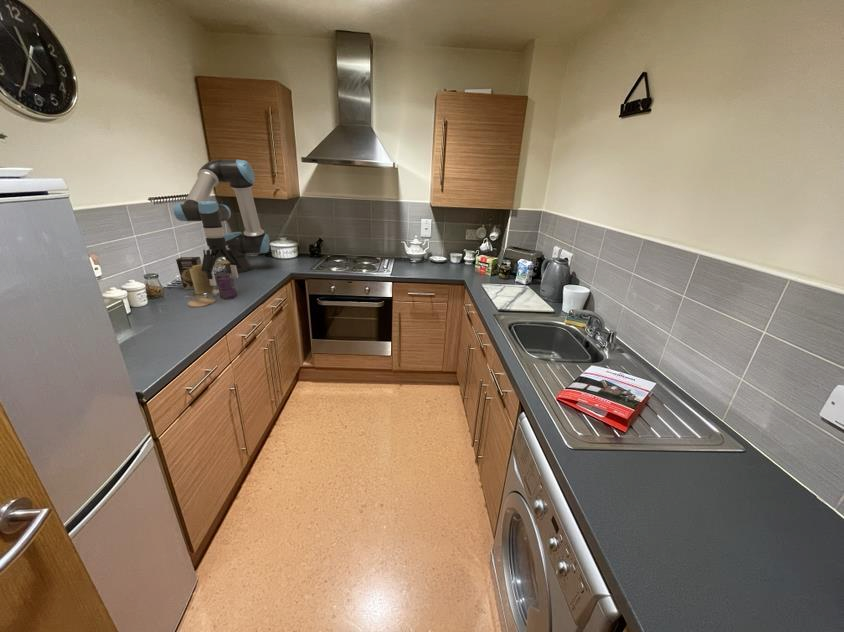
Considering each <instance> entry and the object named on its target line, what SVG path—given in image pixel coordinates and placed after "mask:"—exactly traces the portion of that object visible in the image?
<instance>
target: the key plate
mask: <svg viewBox="0 0 844 632" xmlns="http://www.w3.org/2000/svg"><path fill="white" fill-rule="evenodd" d="M216 296H220V293H219V289H216V288H215V289H214V288H213V291H211V292H206V293H202V294H196V293H195V291H194V292H191V293H189V294H186V295H184V298H186V299H193V300H195V299H199V298H214V297H216Z"/></svg>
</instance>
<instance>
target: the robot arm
mask: <svg viewBox="0 0 844 632" xmlns="http://www.w3.org/2000/svg"><path fill="white" fill-rule="evenodd" d="M196 175H197V178H196V180H195V182H194V184H193V186H192V187H191V190H190V191H189V193H188V195H187V197H186V199H185V201H184V202H183V204H182V203H179V204H175V205H174V206H173V209H172V210H173V215H174V216H175V218H176V220H178V221H180V222H188V223H189V222H201V224H202V228H203V232H204V236H205V237H206V238H205V241H206V245H207V246H208V248H209V249H203V258H202V262H201V264H202V269H201V271H203V272H206V273H207V277H208V279H209V281H210V285H212V287H213V286H214V287H215V286H216V287H217V286H218V285H217V281H216V276H215V273H214V271H213V269H214V267H215V266H214V264H215V262H217V260H218V259H219V258H224V260H228V261H229V262H230V263H227V264H224V271H225V272H230V273H231V275H232V276H233V279H239V274H238V273H244V272H248V271H251V270H252V267H253V266H252V265H251V263H250V261H249V259H248V257H247V254H267V253H268V252H269V249H270V246H271V245H270V242H271V241H270V236H269V234H267V233H265V230H264V229H262V228H261V224H260V220H259V215H258V212H257V208H256V204H255V200H254V199H255V198H254V196H253V191H252V188H253V186H254V183H256V177H255V171H254V170H253V167H252V165H251V164H250V162H248V161H247V160H243V159H224V158H223V159H220V158H216V159H212V160H210V161H208V162H206V163H205V164H204V165H202V167H201V168H200V169H199V170H198V171H197V174H196ZM220 183H225V184H227V183H229V187H230V188H231V189H232V190H233V191H234V194H235V197H236V201H237V204H238V205H237V206H238V209H239V212H240V215H241V219H242V223H243V226H244V231H243V233H242V231H233V232H228V233H225V232H224V228H223V223H222V222H226V221H227V220H229V219H230V218H231V215H232V212H231V208H230V207H228V205H225V204H221V203H220V204H218V202H216V201H215V200H209V199H210V198H209V197H210V196H211V193H212V191H213V190H214V187H217V186H218V184H220Z"/></svg>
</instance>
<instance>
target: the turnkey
mask: <svg viewBox="0 0 844 632" xmlns="http://www.w3.org/2000/svg"><path fill="white" fill-rule="evenodd" d="M227 263H230V262H229V261H228V260H226V259H224V260H220V261H216V262H215V264H214V267H215V266H220V265H221V266H222V265H225V264H227ZM192 267H193V268H191V269H189V271H190V274H191V278H192V282H193V285H194V289H193V290H194V292H195V293H196V294H202V293H206V292H211V291H213V289H214V288H213V286H212V285H210V281H209V279H208V277H207V273H206V272H203V271H201V269H202V263H201V264H200V265H194V266H192Z"/></svg>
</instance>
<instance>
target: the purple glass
mask: <svg viewBox="0 0 844 632" xmlns="http://www.w3.org/2000/svg"><path fill="white" fill-rule="evenodd" d="M215 280H216V284H217V285H216V286H217V290H219V293H220V294H219V296H220V297H219V298H221V299H223V300H230V299H234V298H236V297H237V296H238V295H237V289H236V285H235V280H234V278H233V276H232V273H229V272H226V271H225V272H220V273H217V274H216V276H215Z"/></svg>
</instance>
